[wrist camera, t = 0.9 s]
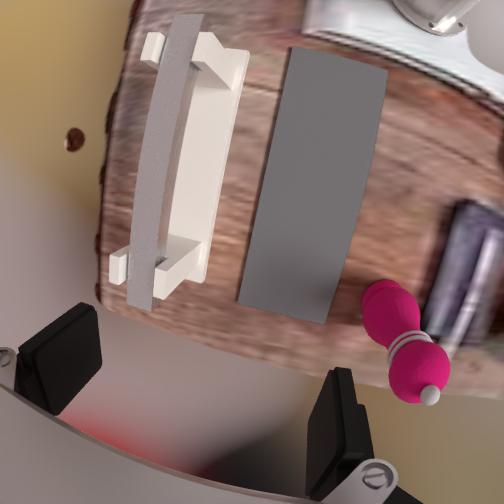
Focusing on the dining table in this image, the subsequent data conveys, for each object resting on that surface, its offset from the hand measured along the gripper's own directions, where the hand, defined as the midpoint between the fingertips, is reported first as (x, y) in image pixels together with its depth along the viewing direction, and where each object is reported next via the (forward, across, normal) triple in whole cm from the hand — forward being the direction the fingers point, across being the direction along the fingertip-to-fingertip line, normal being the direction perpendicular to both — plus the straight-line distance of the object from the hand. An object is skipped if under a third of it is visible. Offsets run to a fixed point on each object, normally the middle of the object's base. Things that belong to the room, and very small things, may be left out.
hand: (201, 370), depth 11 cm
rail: (+19, +11, -6) cm, 23 cm away
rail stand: (+28, +11, -6) cm, 31 cm away
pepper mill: (+28, -17, +7) cm, 34 cm away
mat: (+28, -4, -6) cm, 29 cm away
